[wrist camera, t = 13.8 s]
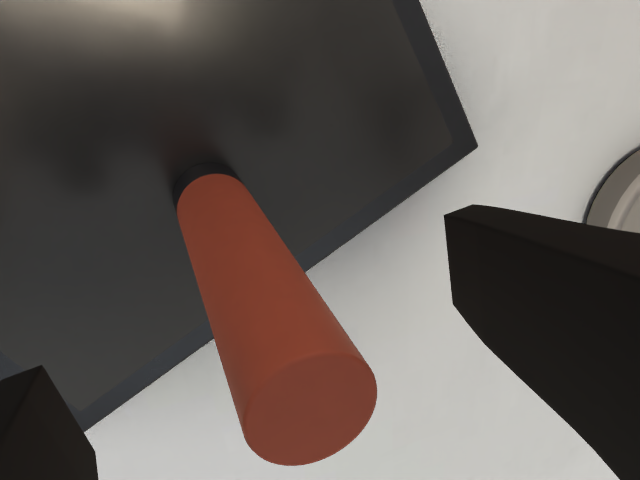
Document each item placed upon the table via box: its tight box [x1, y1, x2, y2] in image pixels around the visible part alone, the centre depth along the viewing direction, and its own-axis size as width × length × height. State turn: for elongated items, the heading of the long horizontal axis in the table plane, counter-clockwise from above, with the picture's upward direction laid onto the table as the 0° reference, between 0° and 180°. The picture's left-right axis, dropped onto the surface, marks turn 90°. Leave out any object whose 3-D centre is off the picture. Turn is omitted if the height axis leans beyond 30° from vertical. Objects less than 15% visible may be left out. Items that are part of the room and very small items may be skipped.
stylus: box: [173, 163, 377, 466], centre depth 11 cm, size 2×2×9 cm
